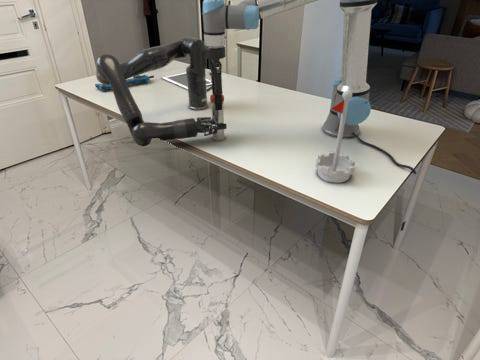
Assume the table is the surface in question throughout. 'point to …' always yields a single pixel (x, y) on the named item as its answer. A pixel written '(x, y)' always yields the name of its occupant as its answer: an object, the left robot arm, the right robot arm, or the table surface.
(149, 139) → the left robot arm
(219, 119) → the jar
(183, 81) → the tablet
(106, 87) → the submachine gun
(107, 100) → the table surface
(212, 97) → the lid
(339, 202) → the table surface
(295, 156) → the table surface
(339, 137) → the flag stand
